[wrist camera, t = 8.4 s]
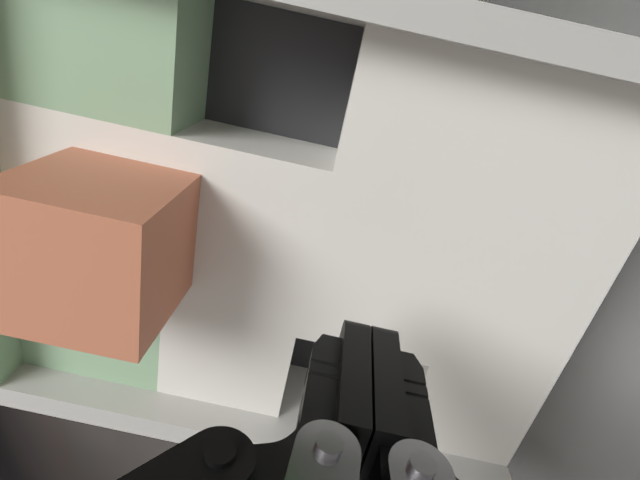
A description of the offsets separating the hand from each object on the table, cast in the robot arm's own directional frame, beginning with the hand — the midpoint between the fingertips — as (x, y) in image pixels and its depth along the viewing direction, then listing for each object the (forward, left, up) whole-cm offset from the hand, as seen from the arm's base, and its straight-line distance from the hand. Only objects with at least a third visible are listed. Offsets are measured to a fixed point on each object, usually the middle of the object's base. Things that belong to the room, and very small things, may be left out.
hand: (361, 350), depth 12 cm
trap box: (+3, 0, -8) cm, 9 cm away
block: (+8, 0, -4) cm, 9 cm away
